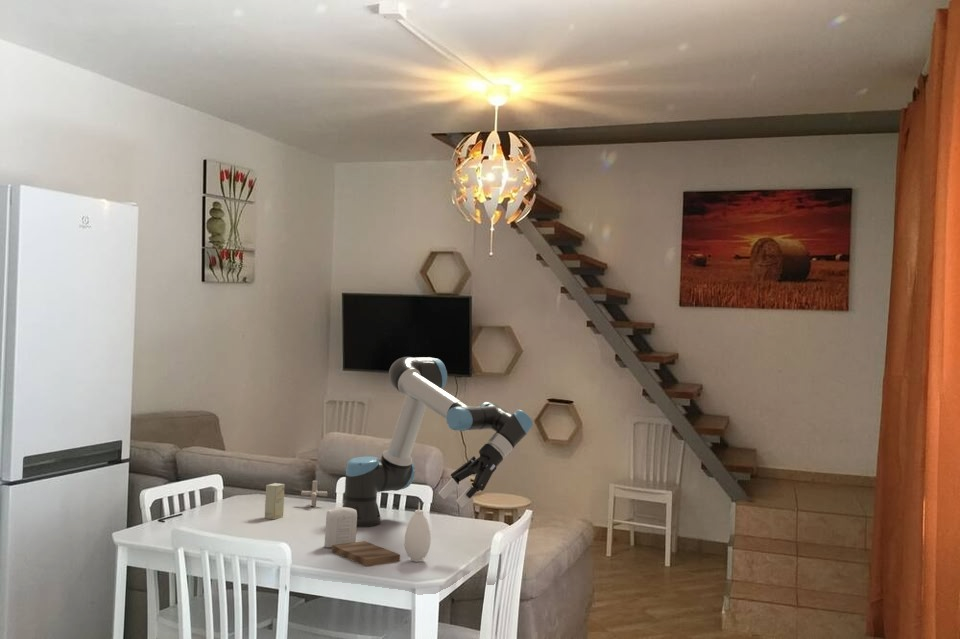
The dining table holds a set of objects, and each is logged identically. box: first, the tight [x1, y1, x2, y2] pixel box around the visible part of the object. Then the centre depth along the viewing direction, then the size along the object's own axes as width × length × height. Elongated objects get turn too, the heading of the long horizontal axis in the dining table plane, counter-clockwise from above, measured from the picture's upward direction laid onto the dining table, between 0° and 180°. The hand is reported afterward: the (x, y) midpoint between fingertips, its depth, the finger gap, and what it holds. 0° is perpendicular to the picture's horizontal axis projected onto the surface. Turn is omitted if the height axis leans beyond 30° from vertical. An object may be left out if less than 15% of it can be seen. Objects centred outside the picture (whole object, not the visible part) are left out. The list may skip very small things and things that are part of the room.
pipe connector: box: [300, 480, 328, 507], centre depth 335 cm, size 10×10×10 cm
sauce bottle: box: [404, 501, 432, 563], centre depth 258 cm, size 8×8×18 cm
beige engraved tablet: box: [324, 506, 357, 549], centre depth 273 cm, size 10×4×12 cm, turn 119°
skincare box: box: [264, 482, 286, 520], centre depth 311 cm, size 6×4×12 cm
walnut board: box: [331, 540, 401, 567], centre depth 261 cm, size 20×12×2 cm, turn 40°
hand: (449, 500), depth 262 cm, fingers open, 13 cm apart
